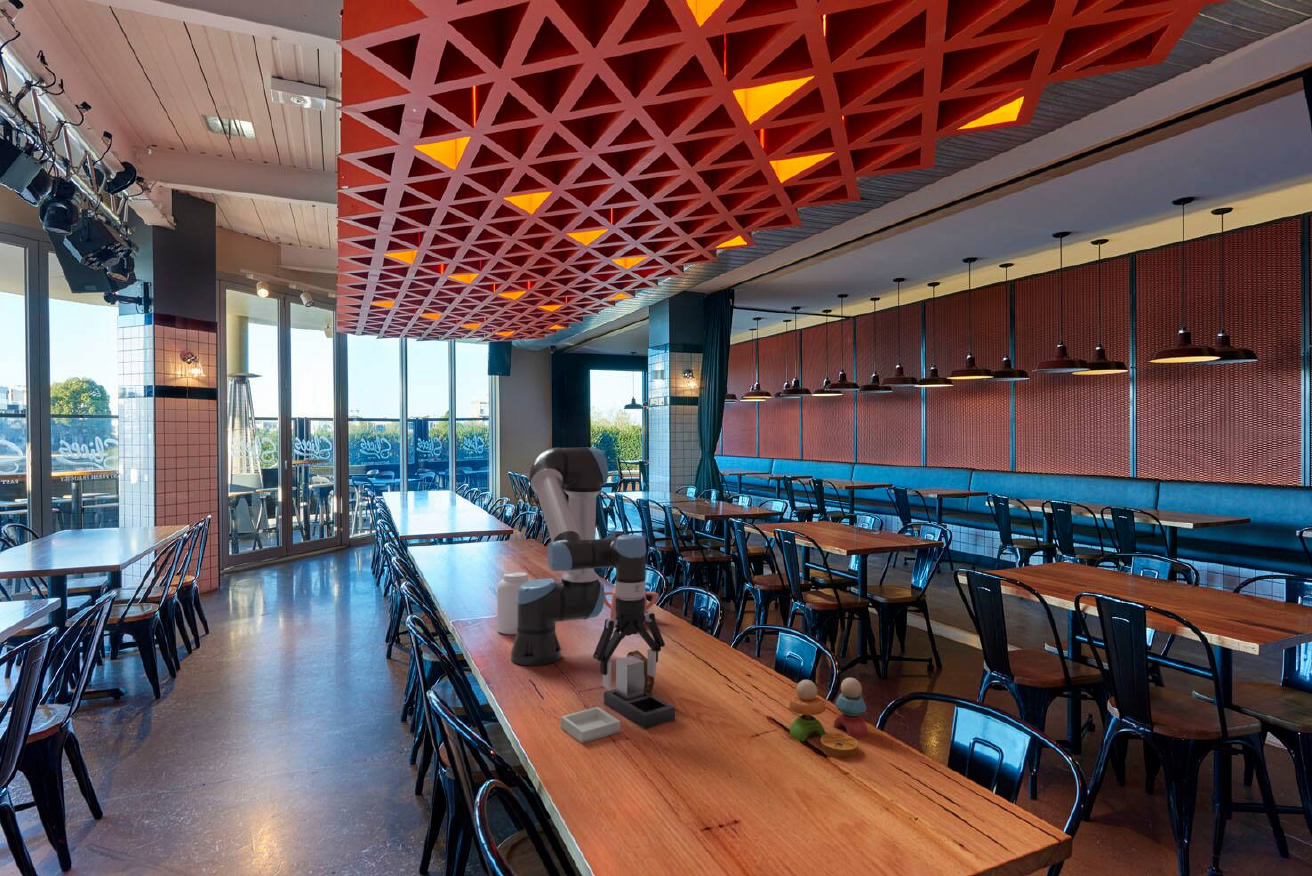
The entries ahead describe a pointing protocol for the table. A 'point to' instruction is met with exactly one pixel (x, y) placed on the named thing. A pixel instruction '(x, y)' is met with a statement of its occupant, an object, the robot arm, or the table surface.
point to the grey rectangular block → (629, 678)
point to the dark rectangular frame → (641, 709)
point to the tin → (647, 679)
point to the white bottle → (509, 601)
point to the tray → (590, 724)
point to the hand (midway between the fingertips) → (629, 681)
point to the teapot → (613, 602)
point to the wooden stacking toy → (850, 718)
